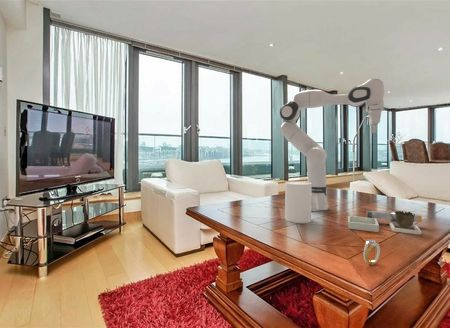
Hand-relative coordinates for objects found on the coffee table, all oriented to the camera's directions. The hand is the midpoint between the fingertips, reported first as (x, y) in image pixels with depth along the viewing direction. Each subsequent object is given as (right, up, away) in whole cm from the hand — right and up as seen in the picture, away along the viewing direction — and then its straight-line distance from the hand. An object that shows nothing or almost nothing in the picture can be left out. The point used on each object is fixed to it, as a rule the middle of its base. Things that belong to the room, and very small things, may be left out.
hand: (373, 132), depth 141 cm
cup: (-2, -49, -26) cm, 55 cm away
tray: (-18, -48, -21) cm, 56 cm away
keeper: (-2, -48, -27) cm, 55 cm away
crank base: (0, -48, -18) cm, 51 cm away
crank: (-1, -46, -18) cm, 49 cm away
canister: (-46, -48, -8) cm, 67 cm away
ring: (-37, -51, -60) cm, 87 cm away
